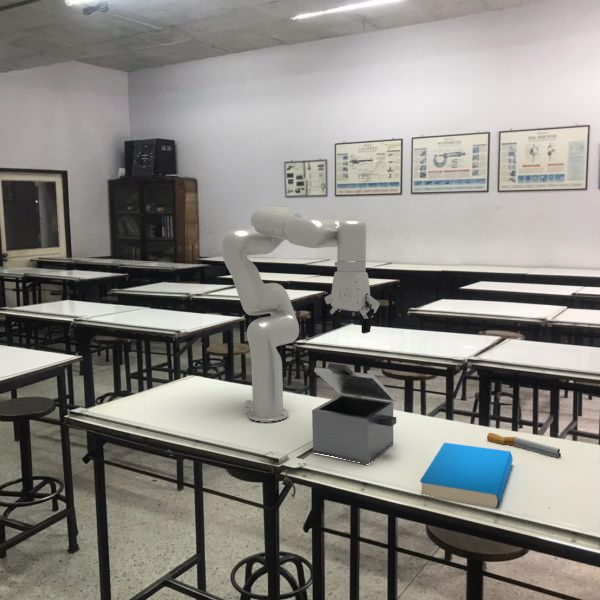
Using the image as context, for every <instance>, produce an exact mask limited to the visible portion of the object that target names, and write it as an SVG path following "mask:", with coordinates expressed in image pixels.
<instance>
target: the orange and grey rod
mask: <svg viewBox="0 0 600 600" xmlns="http://www.w3.org/2000/svg"><path fill="white" fill-rule="evenodd" d="M486 440H487V441H488V442H490V443H493V444H501V445H503V446H504V445H509V446H513V447H517V448H521V449H525V450H528V451H531V450H532V452H534V453H535V452H536V453H540V454H542V455H545V456H549V457H554V458H557V459H559V458H561V455H562V454H561V449H560V448H557V447H554V446H550V445H546V444H543V443H539V442H536V441H532V440H529V439H528V440H527V439H524V438H521V437H517V436H502V435H500V434H497V433H493V432H489V433H487V437H486Z"/></svg>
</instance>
